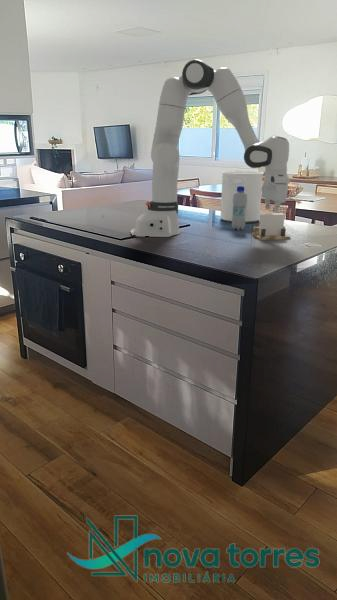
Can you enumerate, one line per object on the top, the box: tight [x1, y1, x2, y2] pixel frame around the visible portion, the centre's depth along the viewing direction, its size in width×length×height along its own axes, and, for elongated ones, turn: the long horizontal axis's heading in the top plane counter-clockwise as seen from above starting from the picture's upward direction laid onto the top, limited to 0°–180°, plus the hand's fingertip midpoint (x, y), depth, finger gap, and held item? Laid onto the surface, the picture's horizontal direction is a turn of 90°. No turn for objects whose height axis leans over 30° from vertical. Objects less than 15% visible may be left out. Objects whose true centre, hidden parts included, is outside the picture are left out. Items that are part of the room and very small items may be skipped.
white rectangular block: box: [258, 212, 285, 236], centre depth 194 cm, size 10×2×9 cm, turn 98°
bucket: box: [220, 170, 265, 224], centre depth 231 cm, size 26×22×24 cm
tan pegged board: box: [251, 226, 291, 241], centre depth 195 cm, size 14×10×4 cm
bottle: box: [231, 186, 247, 231], centre depth 208 cm, size 7×7×20 cm
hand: (271, 210), depth 191 cm, fingers open, 8 cm apart
